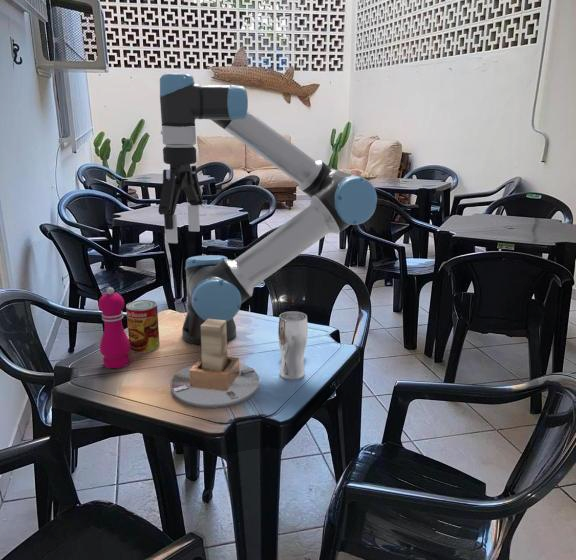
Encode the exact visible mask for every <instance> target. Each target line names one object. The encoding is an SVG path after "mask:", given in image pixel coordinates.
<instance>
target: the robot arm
mask: <svg viewBox="0 0 576 560" xmlns="http://www.w3.org/2000/svg"><path fill="white" fill-rule="evenodd" d="M248 102H249V100H248V92H247V89H246V88H245V87H244V86H242V85H235V84H234V85H233V84H229V85H227V84H225V85H224V84H198V83H195V81H194V76H193V75H192V74H188V73H185V74H184V73H164V74H163V75H161V77H160V78H159V103H160V116H161V117H160V118H161V119H160V120H161V130H160V135H162V144H163V145H165V146H164V147H163V148H162V155H163V156H162V157H163V158H162V159H163V163H164V164H166V165H169V169H163V171H162V184H161V185H162V186H161V191H160V198H159V205H158V214H159V215H163V222H164V224H163V225H164V238H165V241H164V242H165V244H166V243H168V244H178V243H179V240H178V239H179V237H178V220H177V216H178V215H177V214H176V213H175V212H176V209H177V206H178V205H177V204H178V201H179V198H180V194H181V191H183V192H184V194H185V197H186V199H187V201H188V205H187V225H188V232H198V233H199V232H200V231H201V230H200V229H201V228H200V224H201V222H200V206H203V204H204V201H203V195H202V191H201V186H200V182H199V176H198V173H197V171H198V169H197V165H195V164H196V163H197V148H196V147H195V146H194V145H196V144H197V133H196V120H210V121H212V122H213V123H215V124H216V125H217V126H218V127H221V128H222V129H223V130H224V131H226V132H227V133H228V134H229V135H231V136H233V138H235V139H237V140H238V141H240V142H241V143H242V144H244V145H245V146H247V147H248V148H249V149H250V150H252V151H253V152H255V153H256V154H258V156H260V157H262V158H263V159H264V160H266V161H267V162H268V163H270V164H271V165H273V166H274V167H276V168H277V169H278V170H279V171H280V172H282V173H283V174H285V175H286V176H287V177H288V178H291V179H292V180H293V181H295V182H296V183H298V188H299V190H301V191H302V193H304V194H306V195H307V196H308V197H310V198H311V199H310V204H309V205H308V206H307V207H306V208H304V209H303V210H301V211H300V212H298V213H297V214H296V215H294V216H293V217H291V219H289V220H287V221H286V222H285V223H283V224H282V225H281V226H279V227H278V228H277V229H274V231H272V232H271V233H269V234H268V235H267V236H265V237H264V238H263V239H260V241H258V242H257V243H255V244H254V245H253V246H251V247H250V248H249V249H247V250H245V252H243V253H241V254H240V255H239V256H237V257H236V258H235V259H228V257H227V256H225V255H219V254H217V255H215V254H214V255H213V254H209V255H207V254H206V255H196V256H191V257H188V258H187V259H186V260H185V267H184V270H185V275H186V277H185V279H186V300H187V301H186V302H187V303H186V304H187V312H186V315H185V319H184V322H183V326H182V328H181V329H182V338H183V341H186V342H188V343H191V344H194V345H199V346H201V325H202V324H203V323H204V322H205V321H206V320H207V319H216V320H226V330H227V342H229V341H231V340H233V339H234V338H235V337H236V336H237V325H236V323H235V320H234V318H235V316H237V315H238V313H239V311H240V309H241V307H242V304H243V303H245V302H246V301H247V300H249V299H250V298H251V297H252V296H253V293H254V290H255V289H254V288H255V287H256V286H258V285H260V283H262V282H263V281H265V280H266V279H267V278H269V277H271V276H272V275H273V274H274V273H275V272H277V271H278V270H280V269H281V268H283V267H284V266H285V265H287V264H288V263H290V262H291V261H292V260H293V259H295V258H296V257H298V256H300V254H302V253H304V252H305V251H306V250H308V249H309V248H310V247H312V246H314V244H316V243H317V242H318V241H320V240H321V239H323V238H324V237H325V236H327V235H328V234H330V233H332V234H340V233H341V232H342V231H344V230H345V229H347V228H348V227H349V226H351V225H353V226H355V225H357V226H358V225H361V224H364V223H365V222H367V221H369V219H371V217H372V216H373V215H374V213H375V212H376V208H377V202H378V195H377V191H376V188H375V186H374V185H373V184H372V182H370V181H369V180H367V179H366V178H364V176H361V175H360V174H359V175H358V174H351V173H347V172H345V171H340V170H339V169H336V168H333V167H331V166H329V165H328V164H326V163H325V162H324V161H322V160H321V159H318V160H314V159H313V158H312V157H311V156H309V155H308V154H307V153H305V152H304V151H303V150H301V149H300V148H298V147H297V146H296V145H295V144H294V143H292V142H291V141H290V140H288V139H287V138H286V137H284V136H282V134H280V133H279V132H278V131H276V130H275V129H273V128H272V127H271V126H269V125H268V124H267V123H266V122H264V121H263V120H262V119H260V118H259V117H257V116H256V115H255V114H254V113H252V112H251V111H250V110H249V109H248V105H249V104H248Z"/></svg>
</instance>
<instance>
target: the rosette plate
mask: <svg viewBox="0 0 576 560" xmlns="http://www.w3.org/2000/svg"><path fill="white" fill-rule="evenodd" d="M170 384H171V385H170V387H171V394H172V395H173V397H174V398H175V399H176V400H177V401H179V402H180V403H182V404H185V405H187V406H190V407H194V408H198V409H199V408H201V409H222V408H228V407H232V406H236V405H239V404H241V403H244V402H246V401H247V400H249V399H251V398H253V396H254V395H255V394H256V393H257V392H258V390H259V388H260V387H259V386H260V377H259V374H258V373H257V371H256V369H254V368H253V367H250V366H249V365H246V364H244V363H240V357H234V356H227V368H226V369H225V371H224V372H222V371H213V370H204V369H202V356H201V357H200V358H199V359H198V360H197V361H196V362H195V364H194V363H193V364H191V365H189V366H186V367H183V368H182V369H181V370H179V371H177V372H176V374H174V375H173V377H172V378H171V382H170Z"/></svg>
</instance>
